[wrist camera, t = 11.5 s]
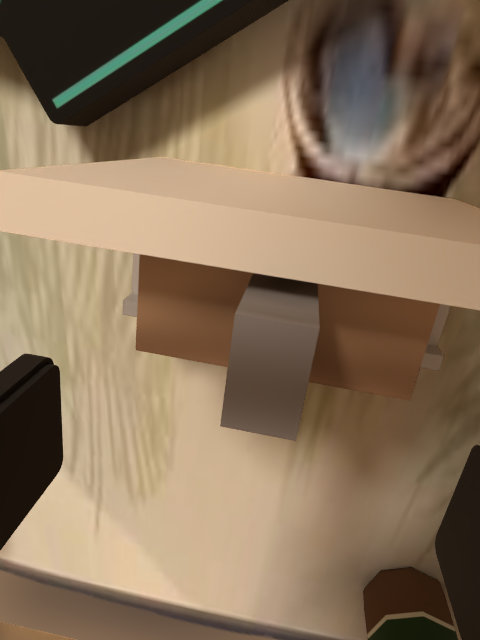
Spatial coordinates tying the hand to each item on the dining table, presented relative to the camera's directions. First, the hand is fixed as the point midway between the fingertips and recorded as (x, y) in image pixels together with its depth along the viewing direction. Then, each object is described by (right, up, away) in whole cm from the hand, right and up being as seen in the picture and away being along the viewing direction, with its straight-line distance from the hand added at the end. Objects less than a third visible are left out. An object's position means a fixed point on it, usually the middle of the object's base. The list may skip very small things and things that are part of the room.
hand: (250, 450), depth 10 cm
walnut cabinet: (+3, +6, +18) cm, 19 cm away
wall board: (+4, +8, +22) cm, 24 cm away
